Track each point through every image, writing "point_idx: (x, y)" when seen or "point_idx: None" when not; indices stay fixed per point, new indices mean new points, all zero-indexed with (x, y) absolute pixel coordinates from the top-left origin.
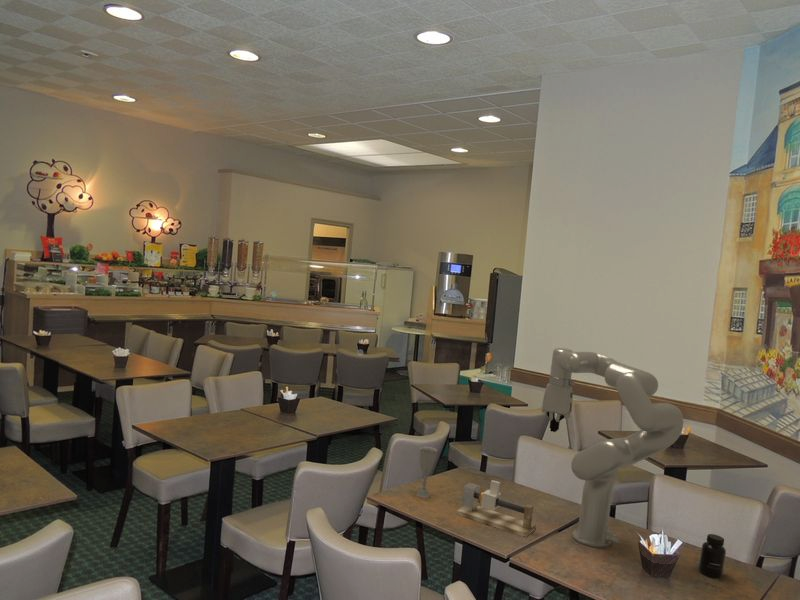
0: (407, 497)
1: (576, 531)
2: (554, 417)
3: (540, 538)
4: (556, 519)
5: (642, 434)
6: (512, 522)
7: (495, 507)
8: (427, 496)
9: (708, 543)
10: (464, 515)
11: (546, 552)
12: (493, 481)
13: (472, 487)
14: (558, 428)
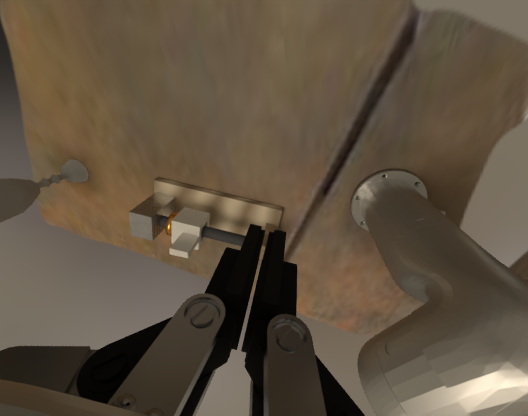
0: (70, 195)
1: (359, 195)
2: (217, 338)
3: (295, 238)
4: (319, 136)
5: None
6: (244, 222)
7: None
8: (86, 176)
9: None
10: None
11: (307, 275)
12: (174, 254)
13: (146, 234)
14: (294, 273)
